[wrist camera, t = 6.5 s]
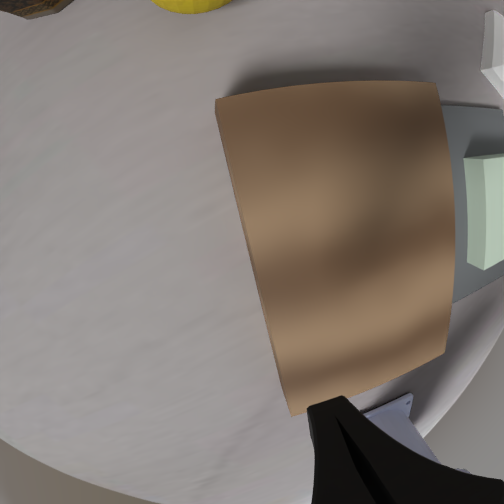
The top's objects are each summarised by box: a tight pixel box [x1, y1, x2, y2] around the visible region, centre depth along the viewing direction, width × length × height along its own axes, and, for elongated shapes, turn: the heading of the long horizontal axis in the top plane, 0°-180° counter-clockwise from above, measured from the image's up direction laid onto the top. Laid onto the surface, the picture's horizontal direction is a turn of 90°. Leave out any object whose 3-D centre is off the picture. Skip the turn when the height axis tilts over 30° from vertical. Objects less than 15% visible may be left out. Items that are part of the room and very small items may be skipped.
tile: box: [463, 153, 504, 270], centre depth 16 cm, size 8×6×2 cm
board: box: [215, 81, 455, 417], centre depth 15 cm, size 18×12×3 cm, turn 13°
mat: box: [441, 105, 504, 304], centre depth 17 cm, size 15×11×1 cm
